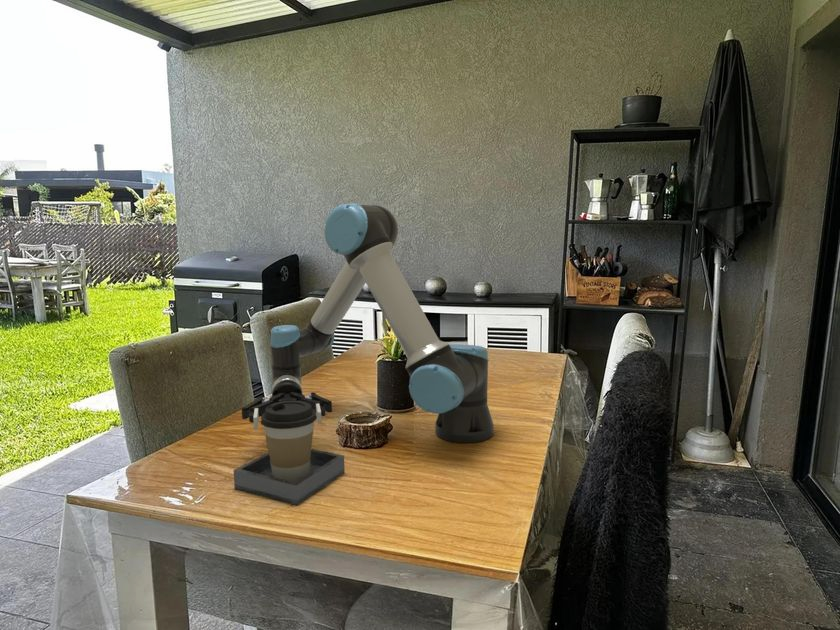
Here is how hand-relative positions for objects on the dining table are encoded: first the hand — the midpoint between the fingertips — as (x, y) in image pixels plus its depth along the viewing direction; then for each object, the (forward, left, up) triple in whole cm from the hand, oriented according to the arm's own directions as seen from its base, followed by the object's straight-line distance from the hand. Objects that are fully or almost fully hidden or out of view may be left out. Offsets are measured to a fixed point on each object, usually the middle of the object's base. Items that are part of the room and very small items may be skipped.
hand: (287, 420), depth 121 cm
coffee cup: (-4, +4, -10) cm, 12 cm away
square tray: (-4, +4, -11) cm, 13 cm away
